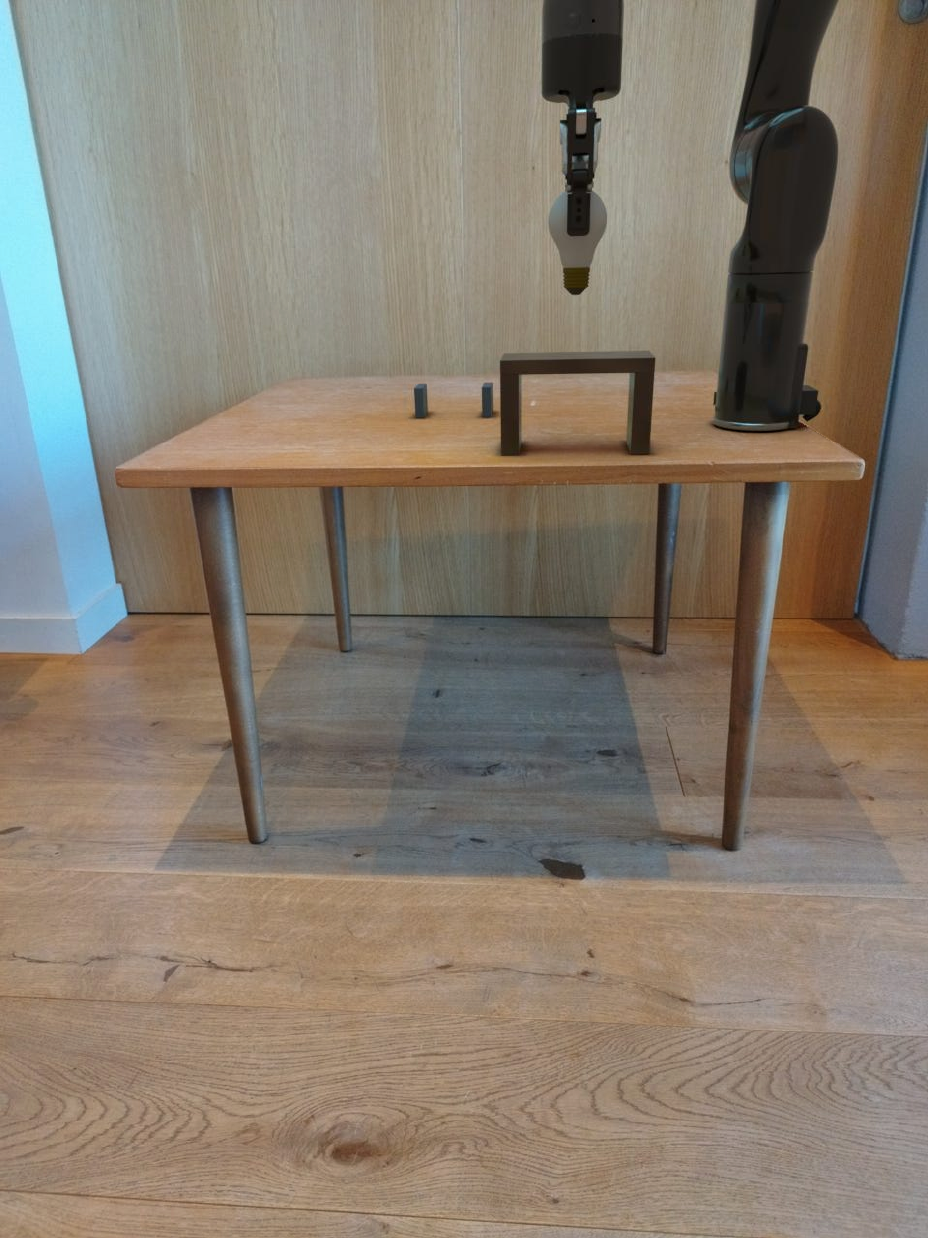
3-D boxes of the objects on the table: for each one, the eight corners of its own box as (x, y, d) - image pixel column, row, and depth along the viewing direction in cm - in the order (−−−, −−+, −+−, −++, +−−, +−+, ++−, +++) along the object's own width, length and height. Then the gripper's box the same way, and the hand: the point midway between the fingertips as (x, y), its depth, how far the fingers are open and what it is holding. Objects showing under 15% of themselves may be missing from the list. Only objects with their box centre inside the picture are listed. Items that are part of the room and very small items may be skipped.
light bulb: (576, 296, 82) (578, 184, 78) (535, 295, 86) (536, 188, 82) (616, 293, 85) (620, 185, 81) (575, 292, 89) (577, 189, 85)
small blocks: (493, 411, 114) (492, 382, 112) (491, 417, 110) (490, 386, 109) (419, 412, 115) (418, 383, 114) (415, 417, 112) (413, 387, 110)
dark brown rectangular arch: (643, 441, 94) (649, 350, 90) (649, 454, 88) (655, 357, 84) (504, 442, 95) (503, 353, 91) (500, 455, 90) (499, 360, 86)
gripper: (628, 15, 69) (619, 234, 76) (618, 52, 83) (611, 236, 89) (539, 21, 70) (538, 237, 77) (543, 57, 83) (542, 238, 90)
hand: (577, 235), depth 83 cm, fingers closed on light bulb, 6 cm apart
